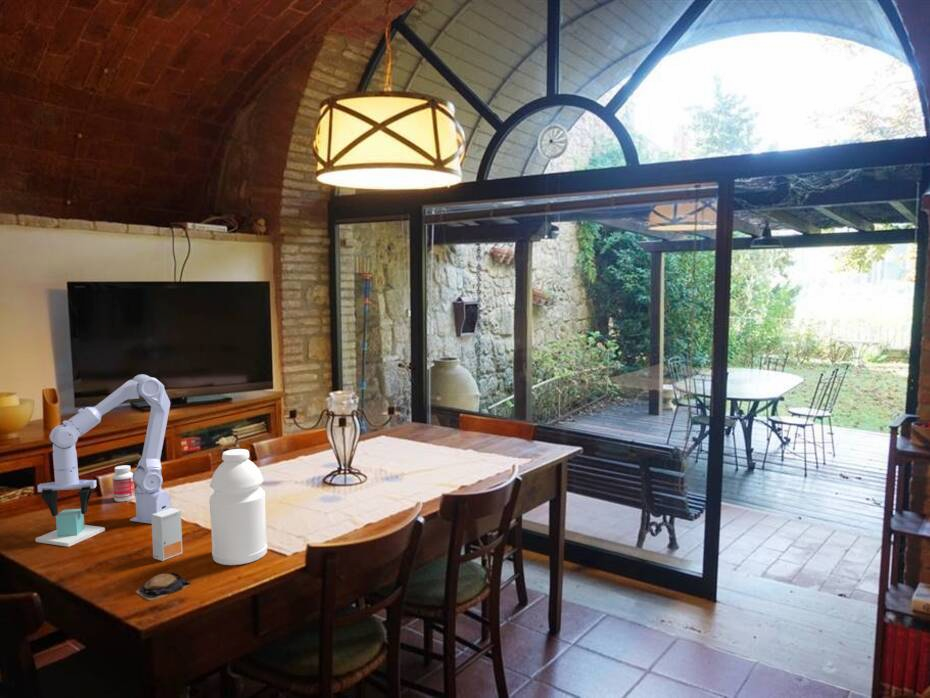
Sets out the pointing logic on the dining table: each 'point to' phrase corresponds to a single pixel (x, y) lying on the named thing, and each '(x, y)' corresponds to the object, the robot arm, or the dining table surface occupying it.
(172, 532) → the skincare box
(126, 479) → the pill bottle
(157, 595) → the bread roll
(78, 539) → the post base
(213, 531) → the bottle
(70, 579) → the dining table surface
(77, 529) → the teal toy cube
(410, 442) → the dining table surface
